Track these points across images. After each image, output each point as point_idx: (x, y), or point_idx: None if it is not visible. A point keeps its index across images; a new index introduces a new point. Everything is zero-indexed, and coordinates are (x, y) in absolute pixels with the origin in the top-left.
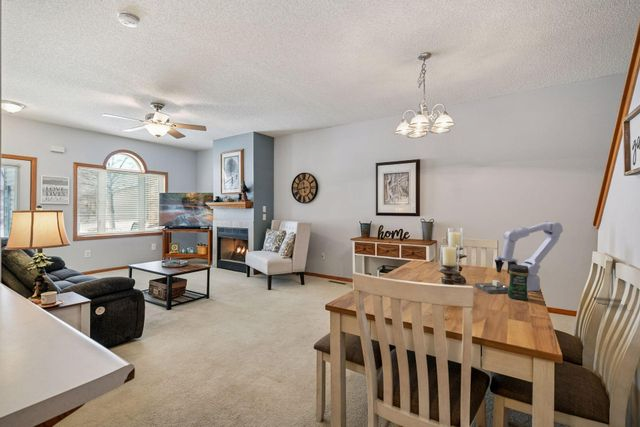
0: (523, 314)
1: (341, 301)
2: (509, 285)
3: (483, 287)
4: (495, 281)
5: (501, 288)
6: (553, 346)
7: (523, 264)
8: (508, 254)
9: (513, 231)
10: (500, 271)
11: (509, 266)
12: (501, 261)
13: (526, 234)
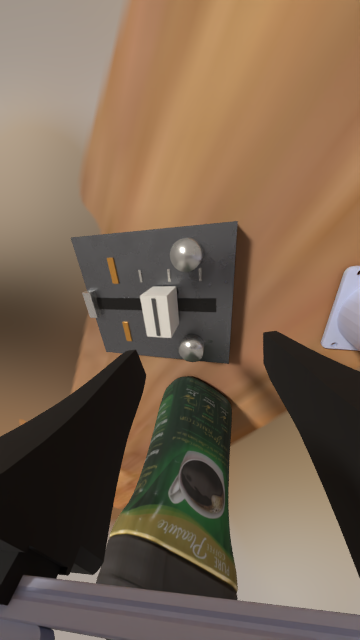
0: (139, 461)
1: None
2: (153, 432)
3: (97, 318)
4: (145, 325)
5: (173, 342)
6: (124, 506)
7: None
8: None
9: None
10: (140, 388)
11: (320, 414)
12: (56, 560)
13: None
